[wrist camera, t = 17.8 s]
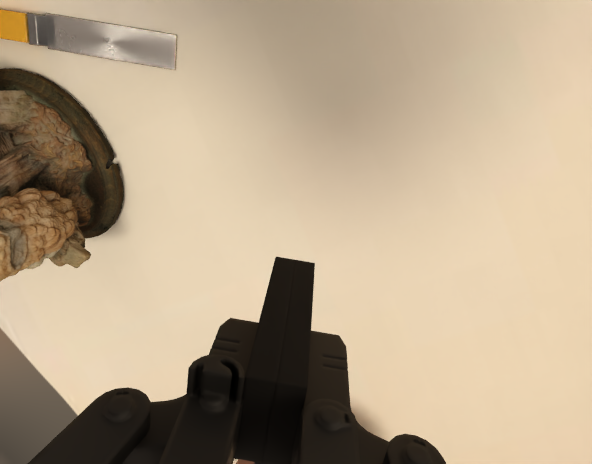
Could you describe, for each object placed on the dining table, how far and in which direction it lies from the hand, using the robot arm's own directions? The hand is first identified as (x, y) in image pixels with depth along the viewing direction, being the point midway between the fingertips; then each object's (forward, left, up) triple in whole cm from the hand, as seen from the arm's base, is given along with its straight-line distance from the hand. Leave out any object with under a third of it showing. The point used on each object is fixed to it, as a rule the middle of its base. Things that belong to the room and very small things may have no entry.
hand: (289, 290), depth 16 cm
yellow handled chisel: (-7, -23, -24) cm, 34 cm away
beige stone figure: (+4, -24, -25) cm, 35 cm away
